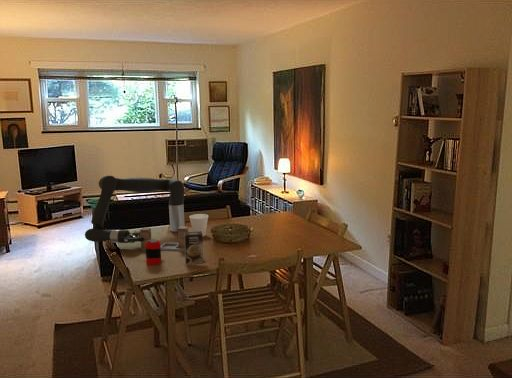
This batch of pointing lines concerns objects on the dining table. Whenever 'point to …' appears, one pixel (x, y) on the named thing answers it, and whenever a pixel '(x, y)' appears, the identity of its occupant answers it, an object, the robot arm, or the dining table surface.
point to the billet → (145, 236)
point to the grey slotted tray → (171, 247)
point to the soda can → (153, 252)
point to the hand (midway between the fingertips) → (146, 237)
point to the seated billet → (182, 236)
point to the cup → (199, 222)
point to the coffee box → (193, 248)
